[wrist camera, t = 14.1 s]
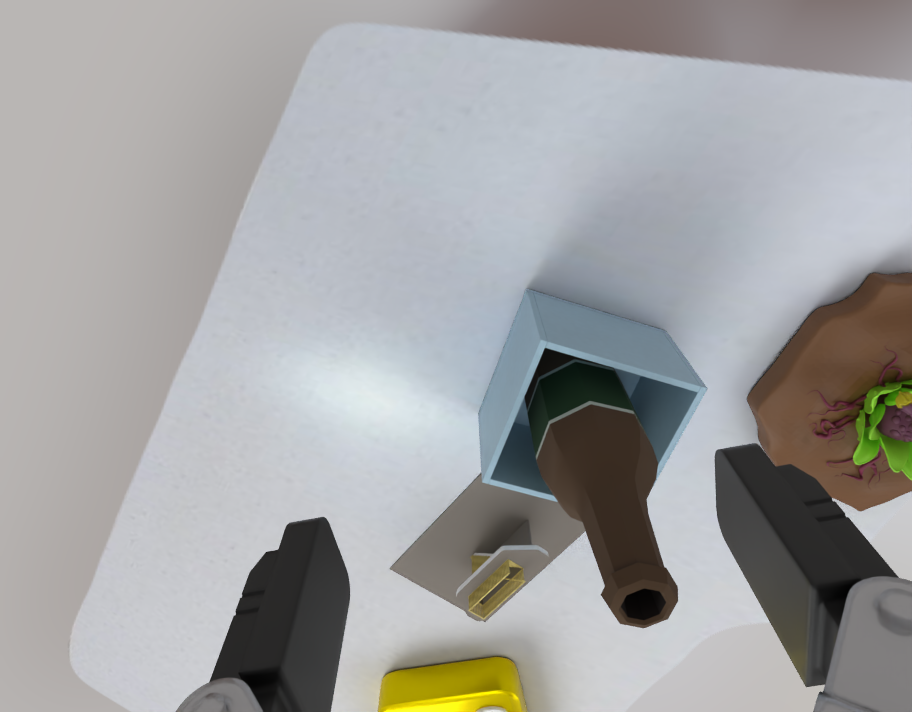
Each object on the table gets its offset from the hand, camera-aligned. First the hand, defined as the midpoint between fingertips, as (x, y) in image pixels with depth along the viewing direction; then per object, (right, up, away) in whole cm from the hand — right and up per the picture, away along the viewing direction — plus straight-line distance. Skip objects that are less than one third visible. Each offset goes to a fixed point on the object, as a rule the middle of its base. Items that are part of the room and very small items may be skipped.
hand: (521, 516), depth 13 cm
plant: (+34, 0, +41) cm, 53 cm away
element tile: (-1, -36, +59) cm, 69 cm away
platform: (+2, -14, +48) cm, 51 cm away
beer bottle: (+8, +2, +40) cm, 41 cm away
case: (+8, +2, +40) cm, 41 cm away
